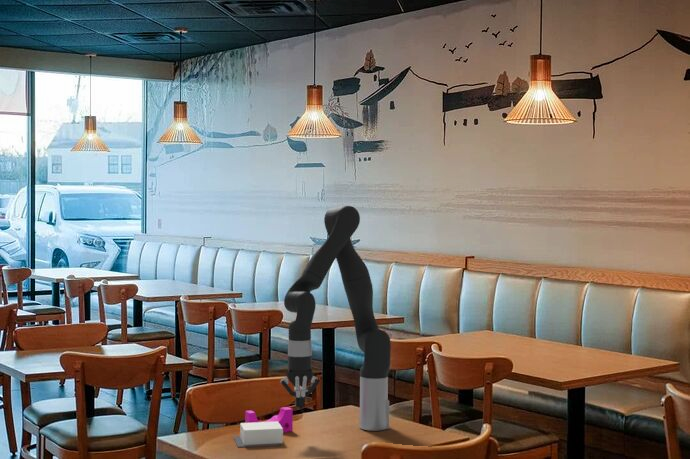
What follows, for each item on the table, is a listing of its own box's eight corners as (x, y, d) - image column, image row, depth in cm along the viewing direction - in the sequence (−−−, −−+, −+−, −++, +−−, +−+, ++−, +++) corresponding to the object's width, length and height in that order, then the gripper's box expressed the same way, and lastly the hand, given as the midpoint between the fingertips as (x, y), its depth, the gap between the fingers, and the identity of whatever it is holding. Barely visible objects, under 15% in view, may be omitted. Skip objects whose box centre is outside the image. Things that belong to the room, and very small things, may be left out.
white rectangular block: (277, 421, 289) (240, 423, 286) (282, 428, 279) (244, 430, 276) (277, 435, 289) (240, 437, 286) (282, 443, 279) (244, 445, 276)
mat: (275, 435, 290) (275, 434, 290) (281, 445, 278) (281, 444, 278) (233, 437, 287) (233, 436, 287) (238, 447, 275) (238, 446, 275)
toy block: (285, 427, 302) (285, 405, 302) (292, 432, 296) (292, 409, 296) (242, 432, 295) (242, 409, 295) (249, 436, 289) (249, 413, 289)
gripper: (318, 351, 290) (318, 405, 291) (277, 352, 287) (277, 407, 288) (322, 354, 283) (323, 410, 283) (280, 356, 280) (281, 412, 280)
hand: (300, 408), depth 286 cm, fingers closed
